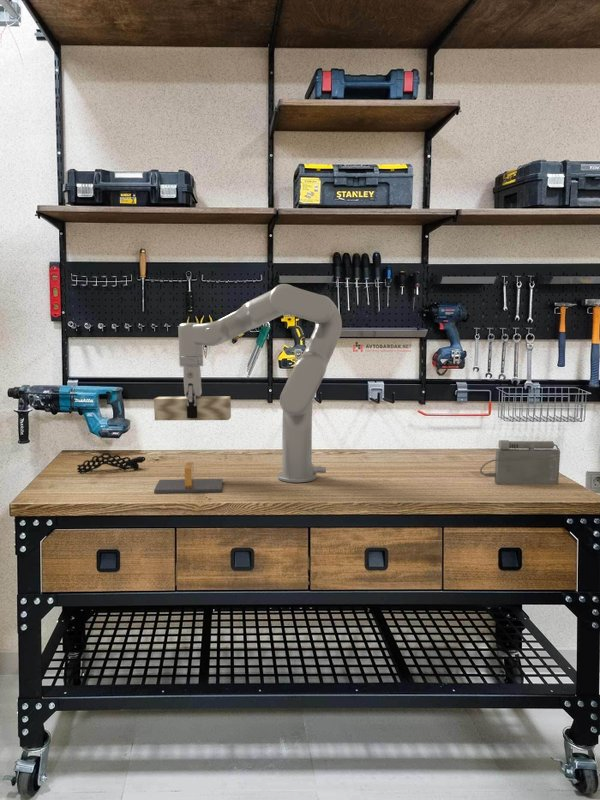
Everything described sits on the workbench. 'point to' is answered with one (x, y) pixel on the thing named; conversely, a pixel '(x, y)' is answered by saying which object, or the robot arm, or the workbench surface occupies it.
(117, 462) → the decorative element
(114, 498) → the workbench surface
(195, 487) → the stand
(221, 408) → the maple bar
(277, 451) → the workbench surface
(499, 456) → the geiger counter
